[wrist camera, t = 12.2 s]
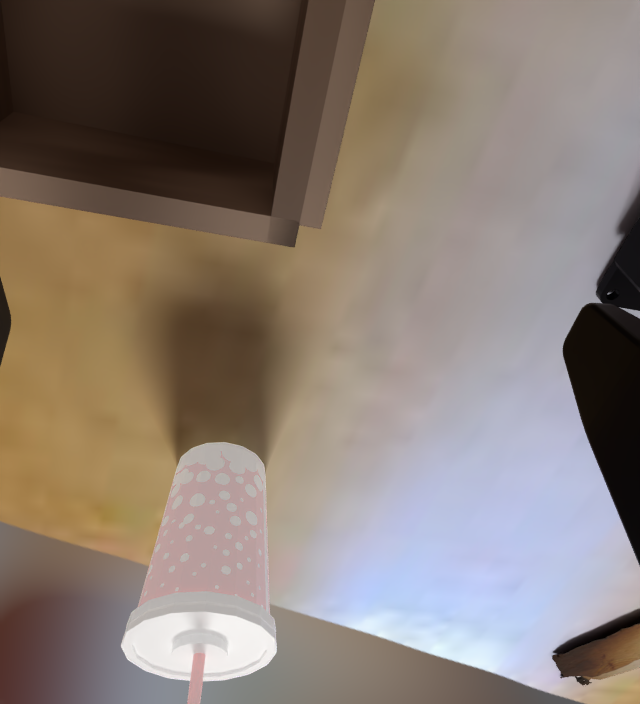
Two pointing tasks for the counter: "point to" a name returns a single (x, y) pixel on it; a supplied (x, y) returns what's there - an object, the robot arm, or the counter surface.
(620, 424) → the robot arm
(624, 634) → the parchment
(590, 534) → the counter surface
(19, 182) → the box
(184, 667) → the beverage cup
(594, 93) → the counter surface
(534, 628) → the counter surface
